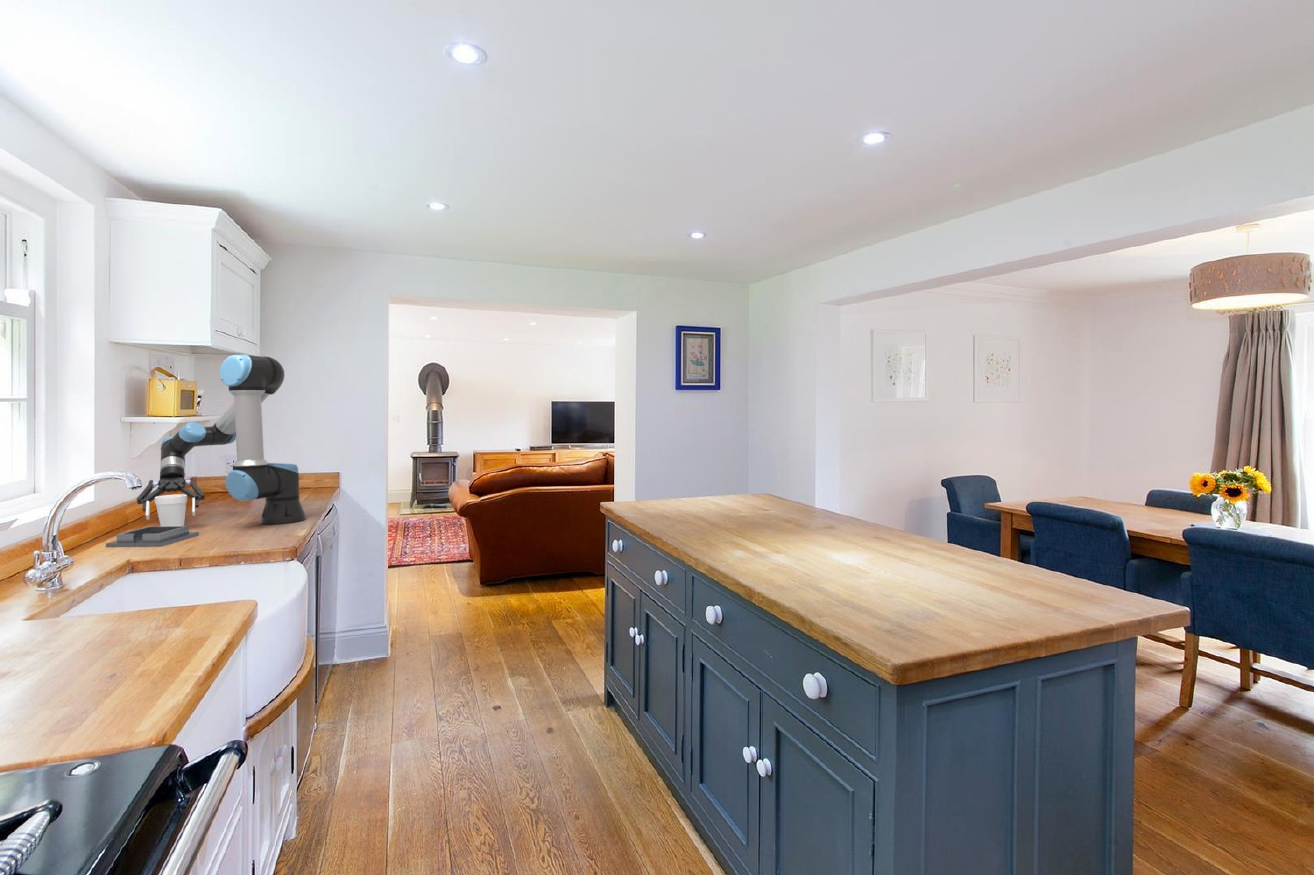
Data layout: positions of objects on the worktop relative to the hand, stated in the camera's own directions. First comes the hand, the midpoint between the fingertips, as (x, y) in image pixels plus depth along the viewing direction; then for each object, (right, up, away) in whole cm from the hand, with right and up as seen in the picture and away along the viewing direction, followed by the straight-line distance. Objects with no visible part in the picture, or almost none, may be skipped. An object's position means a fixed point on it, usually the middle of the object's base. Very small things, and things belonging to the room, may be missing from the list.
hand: (170, 515), depth 238 cm
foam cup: (-1, -6, +2) cm, 6 cm away
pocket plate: (+6, -7, -15) cm, 17 cm away
